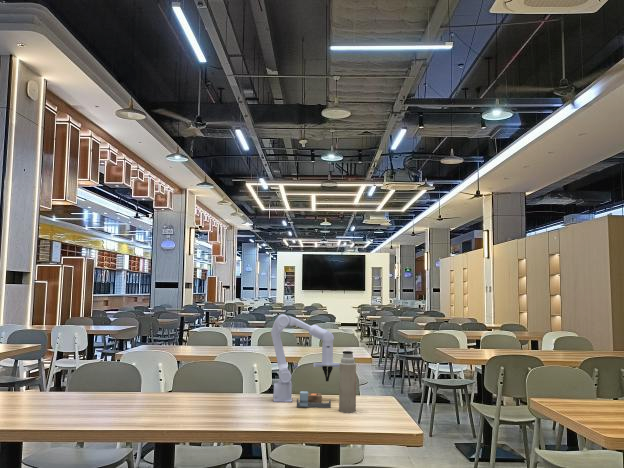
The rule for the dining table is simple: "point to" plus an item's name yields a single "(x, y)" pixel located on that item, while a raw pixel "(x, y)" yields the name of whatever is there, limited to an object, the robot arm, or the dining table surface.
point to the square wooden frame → (314, 397)
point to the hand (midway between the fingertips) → (327, 381)
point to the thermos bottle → (347, 383)
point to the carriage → (303, 398)
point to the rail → (316, 404)
